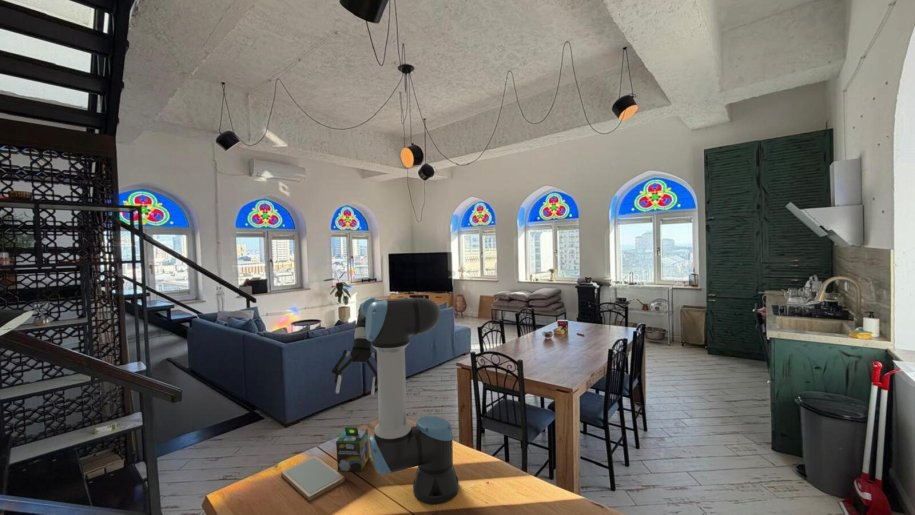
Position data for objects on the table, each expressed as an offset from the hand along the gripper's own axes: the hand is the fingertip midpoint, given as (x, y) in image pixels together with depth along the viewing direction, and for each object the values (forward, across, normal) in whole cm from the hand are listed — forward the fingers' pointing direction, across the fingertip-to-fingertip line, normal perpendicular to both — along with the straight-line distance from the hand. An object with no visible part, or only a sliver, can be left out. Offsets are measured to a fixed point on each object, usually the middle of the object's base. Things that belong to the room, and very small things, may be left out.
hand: (354, 393), depth 150 cm
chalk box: (+24, -3, -5) cm, 25 cm away
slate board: (+29, +10, +1) cm, 30 cm away
